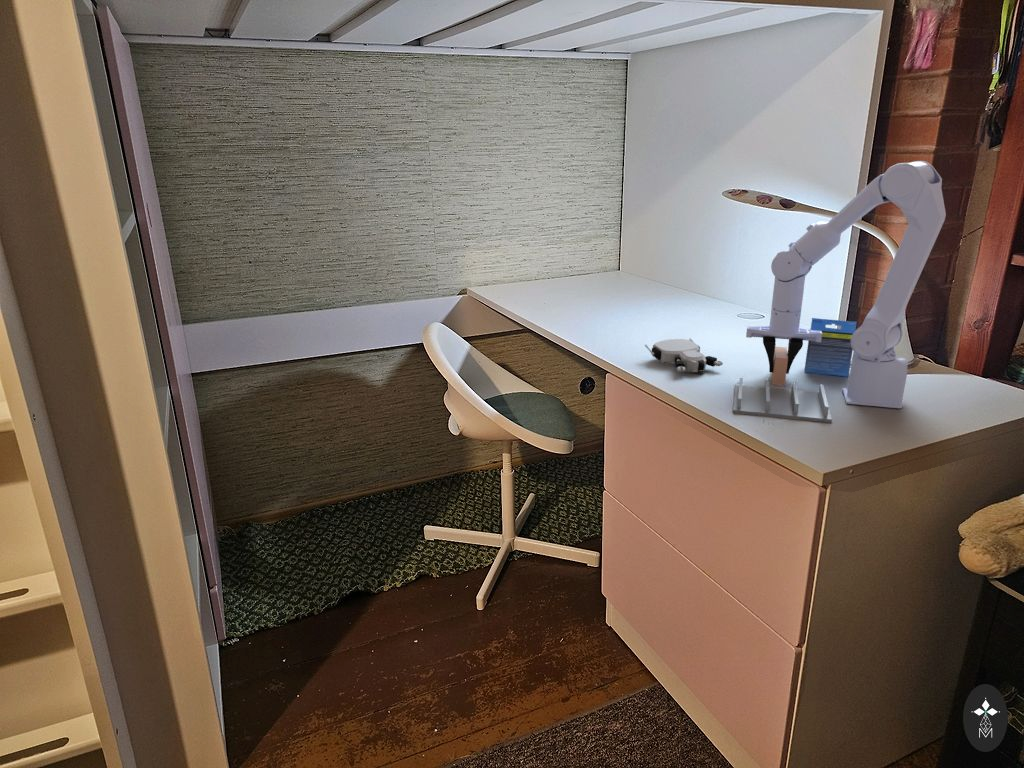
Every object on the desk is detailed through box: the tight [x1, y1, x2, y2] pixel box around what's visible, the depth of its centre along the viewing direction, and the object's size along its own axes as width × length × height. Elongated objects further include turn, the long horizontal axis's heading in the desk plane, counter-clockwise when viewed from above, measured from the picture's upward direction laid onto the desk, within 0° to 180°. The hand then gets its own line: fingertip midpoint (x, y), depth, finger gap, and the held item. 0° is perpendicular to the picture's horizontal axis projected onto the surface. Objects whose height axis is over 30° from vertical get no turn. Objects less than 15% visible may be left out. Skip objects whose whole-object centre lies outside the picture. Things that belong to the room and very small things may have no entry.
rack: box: [732, 377, 833, 423], centre depth 132 cm, size 17×14×3 cm
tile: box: [771, 346, 788, 387], centre depth 145 cm, size 2×8×6 cm, turn 162°
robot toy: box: [644, 337, 724, 373], centre depth 155 cm, size 12×4×15 cm
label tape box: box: [804, 317, 857, 378], centre depth 147 cm, size 9×4×12 cm, turn 66°
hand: (778, 371), depth 146 cm, fingers closed on tile, 2 cm apart
